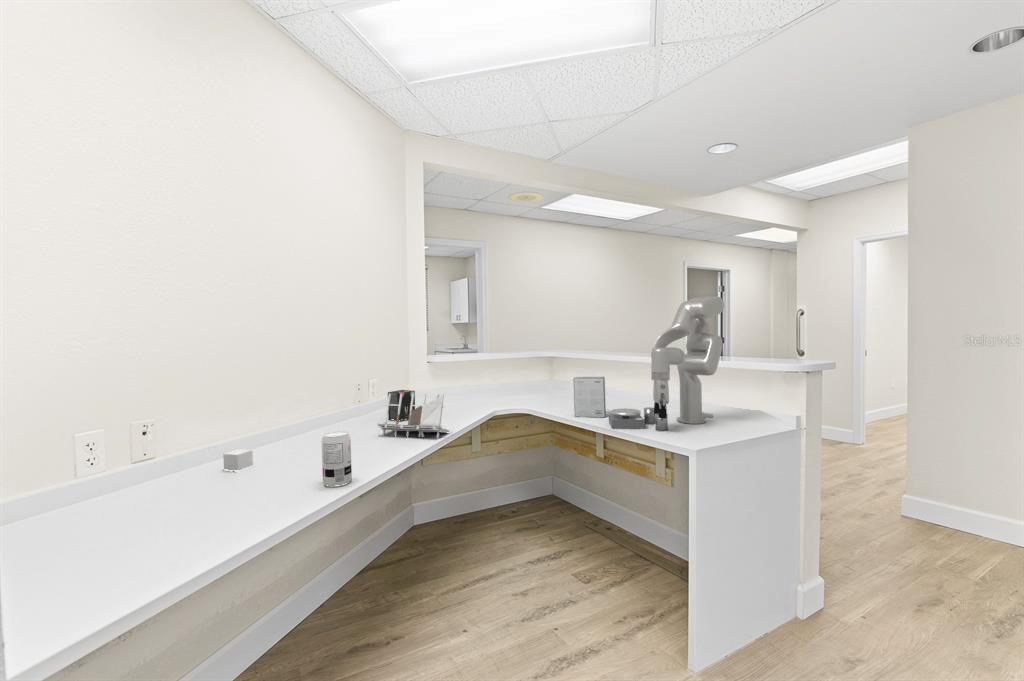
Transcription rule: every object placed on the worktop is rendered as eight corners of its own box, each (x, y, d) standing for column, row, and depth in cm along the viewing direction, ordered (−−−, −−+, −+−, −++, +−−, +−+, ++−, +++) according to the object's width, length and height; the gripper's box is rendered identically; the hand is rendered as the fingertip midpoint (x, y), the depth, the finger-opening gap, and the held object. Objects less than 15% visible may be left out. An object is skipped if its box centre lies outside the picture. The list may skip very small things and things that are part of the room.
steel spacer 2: (666, 428, 198) (666, 412, 198) (668, 431, 194) (668, 415, 193) (654, 428, 199) (654, 412, 199) (656, 431, 194) (656, 415, 194)
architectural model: (429, 436, 181) (436, 384, 187) (367, 433, 190) (375, 383, 196) (450, 441, 199) (455, 393, 206) (392, 438, 208) (399, 392, 214)
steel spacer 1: (654, 422, 213) (654, 407, 212) (656, 424, 208) (656, 409, 208) (643, 422, 213) (643, 407, 213) (645, 424, 208) (645, 409, 208)
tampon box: (400, 421, 228) (399, 393, 228) (387, 420, 233) (387, 392, 233) (416, 418, 237) (415, 390, 237) (403, 416, 242) (402, 389, 242)
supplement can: (317, 484, 136) (315, 435, 136) (342, 477, 143) (340, 429, 142) (332, 489, 131) (330, 438, 131) (357, 481, 138) (355, 433, 137)
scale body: (639, 422, 213) (639, 413, 213) (644, 428, 199) (644, 419, 199) (609, 422, 215) (608, 413, 215) (611, 428, 201) (611, 419, 201)
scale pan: (638, 414, 212) (638, 408, 212) (642, 419, 200) (642, 413, 200) (610, 414, 214) (609, 408, 214) (612, 419, 201) (612, 413, 201)
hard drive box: (606, 414, 233) (605, 376, 233) (605, 417, 226) (604, 378, 225) (575, 414, 237) (575, 376, 237) (574, 416, 230) (573, 377, 229)
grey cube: (224, 471, 152) (223, 453, 152) (239, 466, 158) (238, 449, 158) (238, 472, 150) (237, 454, 150) (253, 467, 156) (252, 450, 156)
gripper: (674, 378, 186) (673, 419, 186) (665, 375, 204) (664, 413, 204) (655, 378, 187) (655, 419, 187) (647, 375, 205) (647, 412, 205)
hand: (660, 416), depth 195 cm, fingers open, 9 cm apart
